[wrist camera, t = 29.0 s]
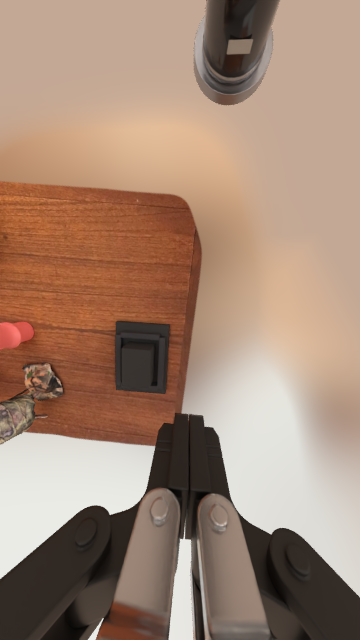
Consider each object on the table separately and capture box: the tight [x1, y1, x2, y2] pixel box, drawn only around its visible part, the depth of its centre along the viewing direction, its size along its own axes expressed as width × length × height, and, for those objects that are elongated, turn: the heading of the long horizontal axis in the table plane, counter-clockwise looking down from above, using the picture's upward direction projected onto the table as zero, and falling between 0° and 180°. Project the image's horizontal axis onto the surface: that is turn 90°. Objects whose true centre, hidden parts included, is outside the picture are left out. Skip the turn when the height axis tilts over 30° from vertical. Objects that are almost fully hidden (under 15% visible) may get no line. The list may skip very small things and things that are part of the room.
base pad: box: [115, 321, 170, 394], centre depth 34 cm, size 14×10×3 cm
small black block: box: [122, 341, 155, 388], centre depth 32 cm, size 7×5×4 cm
